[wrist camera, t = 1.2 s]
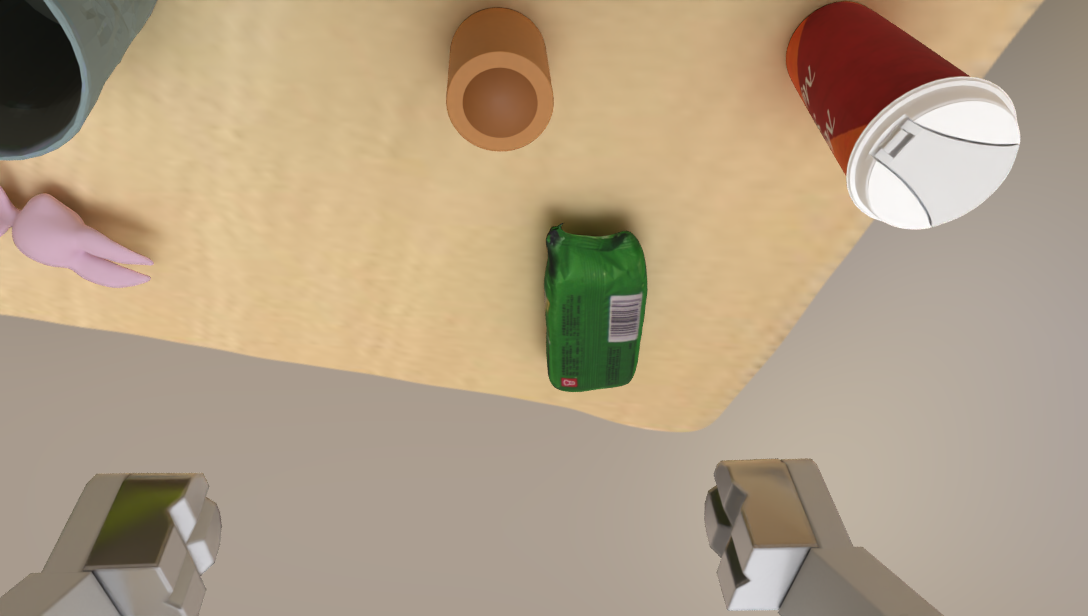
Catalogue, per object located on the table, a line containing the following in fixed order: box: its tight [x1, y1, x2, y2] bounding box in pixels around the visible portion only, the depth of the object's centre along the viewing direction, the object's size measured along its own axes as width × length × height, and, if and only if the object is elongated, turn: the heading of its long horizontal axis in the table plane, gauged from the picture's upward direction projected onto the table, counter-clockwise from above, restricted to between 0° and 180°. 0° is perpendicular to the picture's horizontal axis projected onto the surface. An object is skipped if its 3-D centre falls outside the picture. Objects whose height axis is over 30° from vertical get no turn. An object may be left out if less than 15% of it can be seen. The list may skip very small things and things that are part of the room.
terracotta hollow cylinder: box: [446, 8, 554, 151], centre depth 40 cm, size 6×6×7 cm
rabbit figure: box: [0, 186, 154, 288], centre depth 45 cm, size 6×6×15 cm
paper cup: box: [786, 1, 1020, 229], centre depth 38 cm, size 8×8×14 cm
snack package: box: [544, 223, 647, 392], centre depth 53 cm, size 7×16×5 cm, turn 0°
